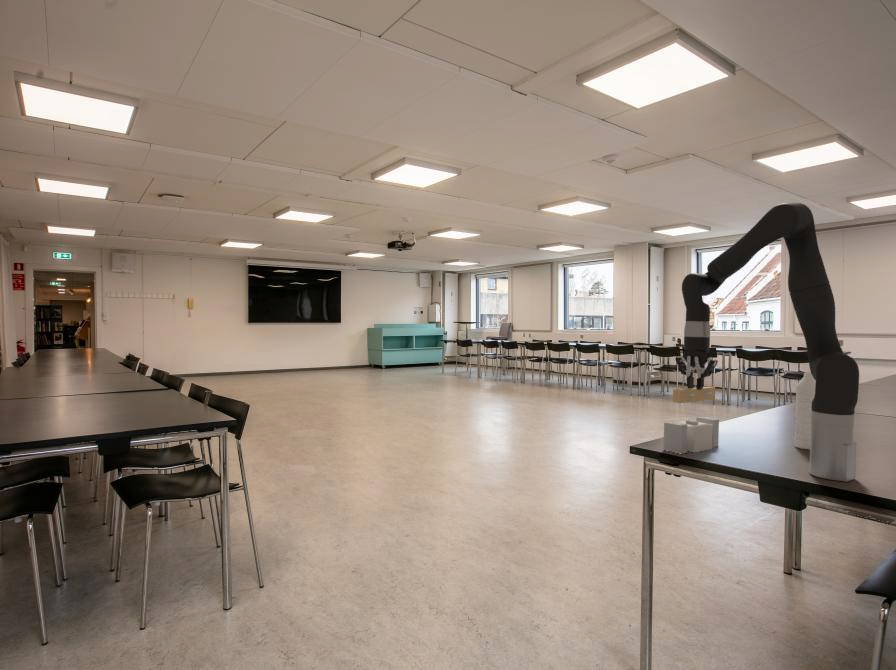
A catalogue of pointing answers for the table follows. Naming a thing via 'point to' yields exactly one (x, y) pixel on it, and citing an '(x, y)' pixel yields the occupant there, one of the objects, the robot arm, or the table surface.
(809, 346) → the robot arm
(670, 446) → the notched grey block
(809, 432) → the water bottle
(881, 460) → the table surface
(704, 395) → the tan wooden bar
